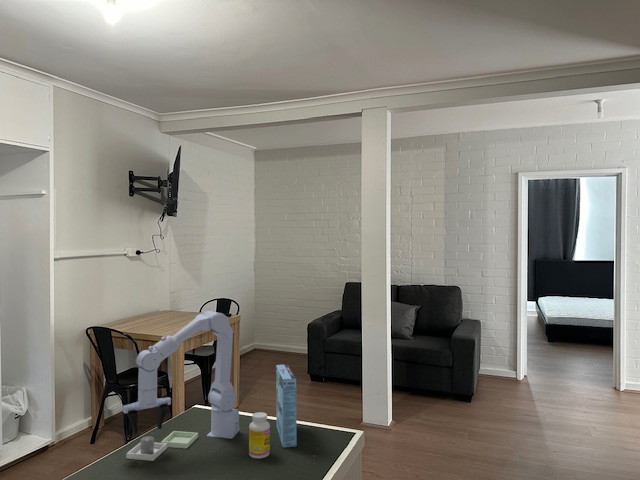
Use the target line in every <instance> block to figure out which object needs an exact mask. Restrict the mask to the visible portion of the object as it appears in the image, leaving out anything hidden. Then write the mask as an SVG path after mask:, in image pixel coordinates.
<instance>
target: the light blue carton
mask: <svg viewBox="0 0 640 480" xmlns="http://www.w3.org/2000/svg"><path fill="white" fill-rule="evenodd" d="M275 367H276V368H275V369H276V370H275V372H276V377H275V378H276V382H275V383H276V384H275V385H276V389H275V390H276V393H275V394H276V397H275V398H276V430H277V433H278V436H279V439H280V443H281V446H282V448H292V447H297V431H298V430H297V429H298V428H297V378H296V376H295V375H294V372H293V371H292V369H291V368H290V365H289V364H277V365H275Z"/></svg>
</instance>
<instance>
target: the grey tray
mask: <svg viewBox="0 0 640 480" xmlns="http://www.w3.org/2000/svg"><path fill="white" fill-rule="evenodd" d="M167 449H168V447H167V443H161V442H156V441H154V453H153V454H152V455H150V454H141V441H140V442H139V443H137V444H136V445H135V446H134V447H132V449H130V450H129V451H127V452H126V453H125V454H126V459H129V460H140V461H153V462H154V461H155V460H156V459H157V458H158V457H159V456H160V455H161V454H163V453H164V452H165V451H166V450H167Z"/></svg>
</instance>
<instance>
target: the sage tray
mask: <svg viewBox="0 0 640 480" xmlns="http://www.w3.org/2000/svg"><path fill="white" fill-rule="evenodd" d="M198 438H199V432H194V431H193V432H191V431H177V430H173V431H172V432H171V433H169V435H167V436H165V438H163V440H161V441H160V443H167V448H172V449H173V448H174V449H188V448H189V447H190V446H192V444H193V443H194V442H195V441H196V440H197V439H198Z"/></svg>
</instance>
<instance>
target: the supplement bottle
mask: <svg viewBox="0 0 640 480" xmlns="http://www.w3.org/2000/svg"><path fill="white" fill-rule="evenodd" d="M251 418H252V421H251V422H250V423H249V426H248V430H249V431H248V455H249V456H250V458H252V459H263V458H267V457H268V456H269V455H270V450H271V448H270V447H271V446H270V444H271V442H270V441H271V440H270V439H271V437H270V436H271V433H270V432H271V425H270V422H269V421H267V419H268V414H267V413H266V412H261V411H260V412H259V411H258V412H255V413H253V414H252V417H251Z"/></svg>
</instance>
